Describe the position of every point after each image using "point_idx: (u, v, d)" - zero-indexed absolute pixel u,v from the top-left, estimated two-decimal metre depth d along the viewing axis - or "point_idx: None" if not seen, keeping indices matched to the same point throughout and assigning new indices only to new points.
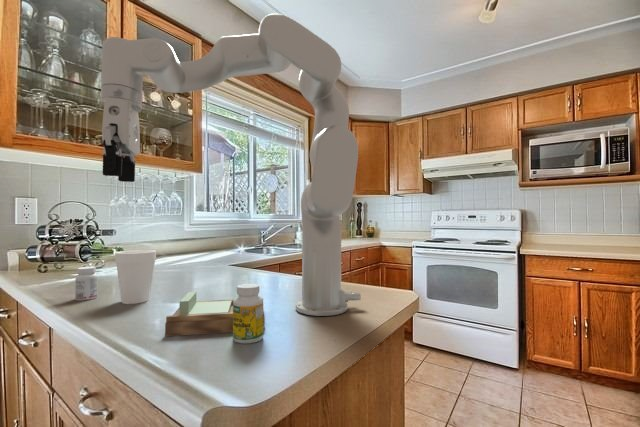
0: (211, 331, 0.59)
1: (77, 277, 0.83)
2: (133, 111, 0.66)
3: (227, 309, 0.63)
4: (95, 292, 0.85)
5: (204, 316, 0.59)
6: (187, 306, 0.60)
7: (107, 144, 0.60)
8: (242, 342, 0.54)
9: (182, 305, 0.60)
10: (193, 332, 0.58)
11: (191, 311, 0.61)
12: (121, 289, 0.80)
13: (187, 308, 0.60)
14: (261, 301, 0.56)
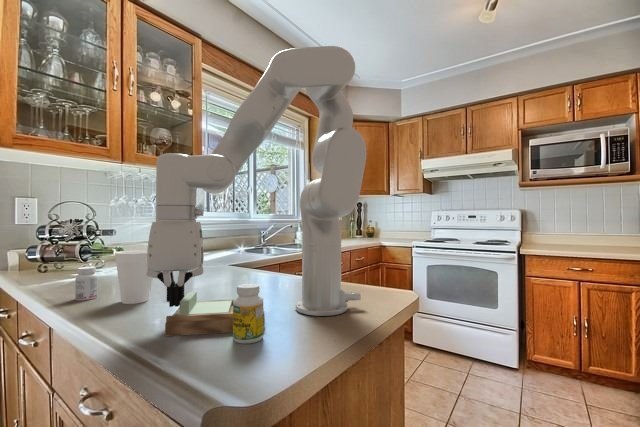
0: (211, 331, 0.59)
1: (77, 277, 0.83)
2: None
3: (227, 309, 0.63)
4: (95, 292, 0.85)
5: (204, 316, 0.59)
6: (187, 306, 0.60)
7: None
8: (242, 342, 0.54)
9: (182, 305, 0.60)
10: (193, 332, 0.58)
11: (191, 311, 0.61)
12: (121, 289, 0.80)
13: (187, 308, 0.60)
14: (261, 301, 0.56)
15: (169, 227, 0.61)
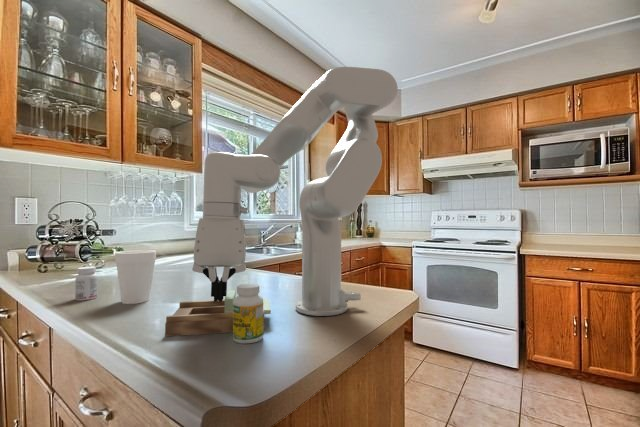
0: (211, 331, 0.59)
1: (77, 277, 0.83)
2: None
3: (268, 307, 0.65)
4: (95, 292, 0.85)
5: (204, 316, 0.59)
6: (232, 304, 0.62)
7: (232, 273, 0.65)
8: (242, 342, 0.54)
9: (227, 303, 0.62)
10: (193, 332, 0.58)
11: None
12: (121, 289, 0.80)
13: (231, 306, 0.62)
14: (261, 301, 0.56)
15: (216, 224, 0.63)
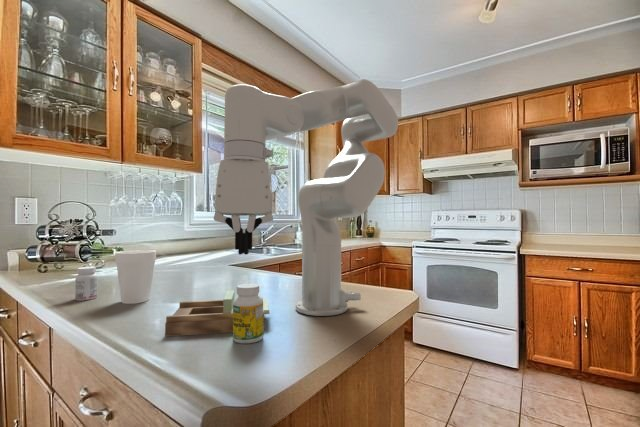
0: (211, 331, 0.59)
1: (77, 277, 0.83)
2: None
3: (267, 307, 0.65)
4: (95, 292, 0.85)
5: (204, 316, 0.59)
6: (230, 304, 0.62)
7: None
8: (242, 342, 0.54)
9: (225, 303, 0.61)
10: (193, 332, 0.58)
11: None
12: (121, 289, 0.80)
13: (230, 306, 0.62)
14: (261, 301, 0.56)
15: (239, 166, 0.55)
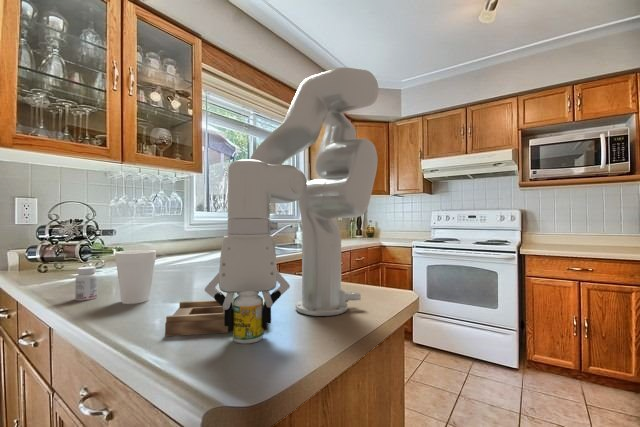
0: (211, 331, 0.59)
1: (77, 277, 0.83)
2: None
3: None
4: (95, 292, 0.85)
5: (204, 316, 0.59)
6: None
7: None
8: (242, 342, 0.54)
9: None
10: (193, 332, 0.58)
11: None
12: (121, 289, 0.80)
13: None
14: (261, 301, 0.56)
15: (244, 243, 0.54)
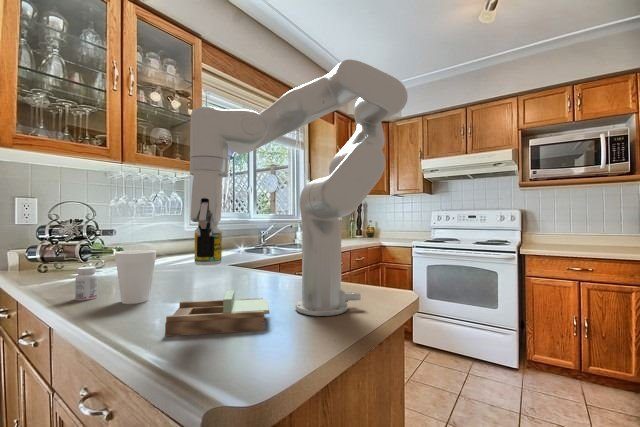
0: (211, 331, 0.59)
1: (77, 277, 0.83)
2: None
3: (267, 307, 0.65)
4: (95, 292, 0.85)
5: (204, 316, 0.59)
6: (230, 304, 0.62)
7: None
8: (219, 262, 0.64)
9: (225, 303, 0.61)
10: (193, 332, 0.58)
11: (233, 309, 0.63)
12: (121, 289, 0.80)
13: (230, 306, 0.62)
14: None
15: (221, 180, 0.65)
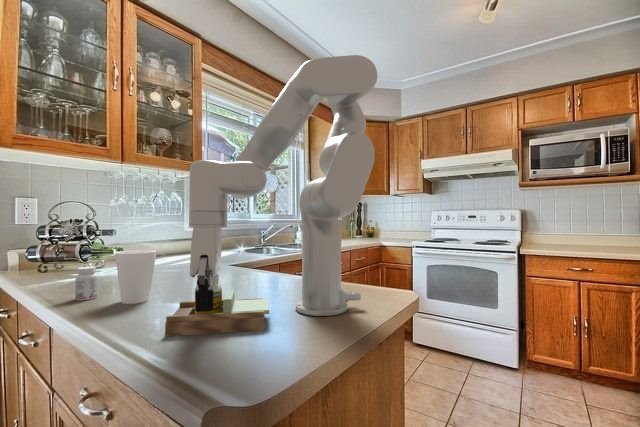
0: (211, 331, 0.59)
1: (77, 277, 0.83)
2: None
3: (267, 307, 0.65)
4: (95, 292, 0.85)
5: (204, 316, 0.59)
6: (230, 304, 0.62)
7: None
8: None
9: (225, 303, 0.61)
10: (193, 332, 0.58)
11: (233, 309, 0.63)
12: (121, 289, 0.80)
13: (230, 306, 0.62)
14: None
15: (220, 232, 0.65)
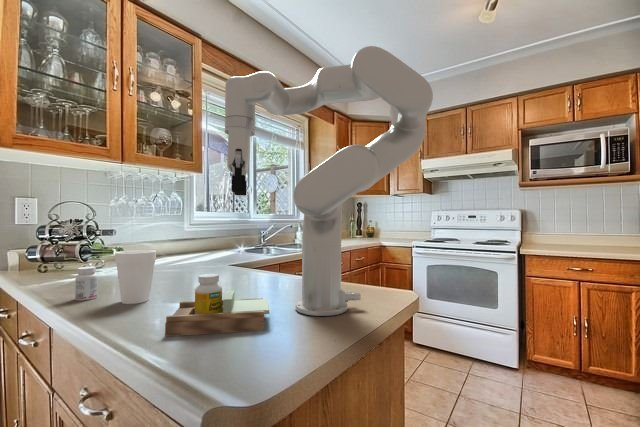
0: (211, 331, 0.59)
1: (77, 277, 0.83)
2: None
3: (267, 307, 0.65)
4: (95, 292, 0.85)
5: (204, 316, 0.59)
6: (230, 304, 0.62)
7: None
8: None
9: (225, 303, 0.61)
10: (193, 332, 0.58)
11: (233, 309, 0.63)
12: (121, 289, 0.80)
13: (230, 306, 0.62)
14: None
15: None
